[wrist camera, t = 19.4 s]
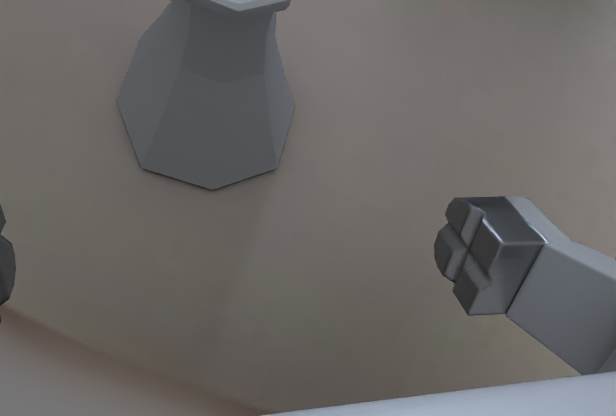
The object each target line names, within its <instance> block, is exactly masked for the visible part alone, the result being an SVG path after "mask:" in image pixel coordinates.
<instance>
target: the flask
mask: <svg viewBox="0 0 616 416" xmlns="http://www.w3.org/2000/svg"><path fill="white" fill-rule="evenodd" d="M290 1H291V0H171V2H170V3H169V5H168V6H167V7H166V9H165V10H164V11H163V13H162V14H161V15H160V17H159V18H158V19H157V20H156V21H155V22H154V23H153V24H152V25H151V27H150V28H149V29H148V30H147V31H146V32H145V33H144V34H143V36H142V37H141V38H140V41H139V44H138V46H137V49H136V51H135V54H134V57H133V59H132V62H131V65H130V67H129V70H128V72H127V75H126V78H125V80H124V83H123V86H122V88H121V91H120V93H119V96H118V99H117V103H118V106H119V109H120V111H121V114H122V117H123V120H124V122H125V125H126V128H127V130H128V133H129V136H130V139H131V141H132V144H133V147H134V150H135V152H136V155H137V158H138V160H139V163H140V166H141V168H143V169H147V170H150V171H153V172H156V173H160V174H163V175H166V176H169V177H172V178H176V179H179V180H182V181H185V182H188V183H192V184H195V185H198V186H201V187H205V188H208V189H211V190H213V189H216V188H220V187H223V186H226V185H229V184H232V183H235V182H238V181H241V180H244V179H247V178H250V177H253V176H256V175H259V174H262V173H265V172H268V171H271V170H274V169H277V167H278V164H279V160H280V157H281V153H282V150H283V146H284V143H285V139H286V136H287V132H288V129H289V125H290V122H291V118H292V115H293V111H294V104H293V100H292V96H291V93H290V90H289V87H288V84H287V81H286V78H285V75H284V71H283V67H282V63H281V59H280V55H279V51H278V47H277V43H276V38H275V26H276V12H277V11H281V10H285V9H286V8H287V7H288V6H289V4H290Z"/></svg>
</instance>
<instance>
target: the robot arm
mask: <svg viewBox="0 0 616 416" xmlns="http://www.w3.org/2000/svg"><path fill="white" fill-rule="evenodd" d="M445 216H446V218H447V221H448V224H447V225H445V226H444V227H443V228H442V229H441V230H440V231H439V232H438V235H437V238H436V241H435V244H434V256H435V261H436V264H437V267H438V269H439V270H440V272H441V274H442V275H443V276H444V277H446V278H447V279H449V280H450V281H452V282H454V287H453V293H454V294H455V296H456V297H457V299H458V300H459V302H460V304H461V305H462V307H463V308H464V310H465V311H466V313H467V315H468V316H472V315H493V314H506V316H507V317H508V318H509V319H510V320H512V321H513V322H514V323H516V324H517V325H518V326H520V327H521V328H522V329H523V330H525V331H526V332H527V333H529V334H530V335H531V336H532V337H534V338H535V339H536V340H538V341H539V342H540V343H542V344H543V345H544V346H545V347H547V348H548V349H549V350H551V351H552V352H553V353H555V354H556V355H557V356H558V357H560V358H561V359H562V360H564V361H565V362H566V363H568V364H569V365H570V366H571V367H573V368H574V369H575V370H577V371H578V372H579V373H581V374H582V376H574V377H566V378H558V379H549V380H541V381H533V382H525V383H517V384H509V385H501V386H493V387H485V388H477V389H469V390H461V391H453V392H445V393H437V394H429V395H421V396H413V397H405V398H397V399H389V400H381V401H372V402H364V403H356V404H348V405H340V406H332V407H324V408H316V409H308V410H300V411H292V412H284V413H275V414H267V415H260V416H616V259H614V258H612V257H609V256H607V255H605V254H603V253H601V252H599V251H597V250H595V249H593V248H590V247H588V246H586V245H584V244H582V243H573V242H572V241H571V240H570V239H569V238H568V237H567V236H566V235H565V234H564V233H563V232H562V231H561V230H560V229H559V228H558V227H557V226H556V225H555V224H554V223H553V222H552V221H551V220H550V219H549V218H548V217H547V216H546V215H545V214H544V213H543V212H542V211H540V210H539V209H538V208H537V207H536V206H535V205H534V204H533V203H532V202H531V201H530V200H529V199H528V198H526V197H523V196H521V195H515V196H498V197H464V198H454V199H453V200H452V201H451V202H450V204H449V205H448V208H447V211H446V213H445ZM5 223H6V220H5V217H4V214H3V211H2V207H1V205H0V234H1V232H2V230H3V227H4V225H5ZM15 272H16V264H15V254H14V250H13V246H12V243H11V242H9V241H8V240H7V239H6V238H4V237H3V236H2V235H0V305H2V304H3V303H4V302H6V301H7V300H8V299H9V298H10V295H11V292H12V290H13V287H14V281H15ZM0 323H1V316H0Z"/></svg>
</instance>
